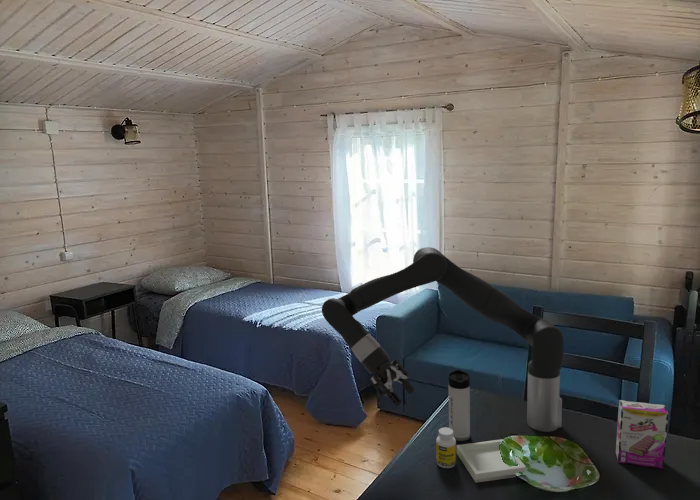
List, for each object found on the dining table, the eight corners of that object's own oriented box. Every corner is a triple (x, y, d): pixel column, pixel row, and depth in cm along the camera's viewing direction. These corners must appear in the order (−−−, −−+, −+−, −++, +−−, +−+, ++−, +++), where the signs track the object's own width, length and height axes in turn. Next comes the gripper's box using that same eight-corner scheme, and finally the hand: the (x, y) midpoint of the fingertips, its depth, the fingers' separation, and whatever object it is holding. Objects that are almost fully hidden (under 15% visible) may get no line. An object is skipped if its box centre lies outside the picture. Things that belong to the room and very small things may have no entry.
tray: (502, 447, 150) (502, 439, 150) (525, 475, 137) (526, 466, 136) (456, 453, 148) (456, 445, 148) (475, 482, 135) (475, 473, 134)
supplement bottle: (436, 468, 142) (435, 435, 140) (436, 457, 147) (435, 425, 145) (456, 469, 141) (456, 436, 139) (455, 458, 146) (455, 426, 144)
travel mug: (468, 430, 161) (468, 369, 157) (471, 441, 154) (471, 378, 151) (448, 429, 161) (447, 369, 158) (450, 441, 155) (449, 378, 151)
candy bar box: (618, 463, 140) (620, 407, 137) (615, 453, 145) (617, 399, 142) (665, 470, 136) (669, 412, 133) (660, 459, 141) (664, 403, 138)
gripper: (365, 354, 144) (403, 401, 140) (389, 338, 156) (424, 381, 152) (350, 369, 147) (386, 415, 144) (374, 352, 159) (408, 394, 155)
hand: (406, 398), depth 148 cm, fingers open, 8 cm apart
